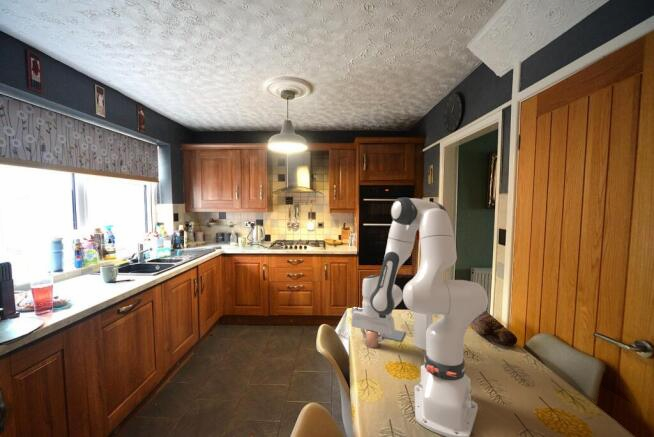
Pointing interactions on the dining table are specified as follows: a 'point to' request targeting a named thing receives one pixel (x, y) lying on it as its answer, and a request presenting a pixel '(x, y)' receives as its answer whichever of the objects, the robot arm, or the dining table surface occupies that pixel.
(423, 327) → the milk
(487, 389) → the dining table surface
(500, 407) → the dining table surface
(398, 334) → the coaster
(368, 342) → the pink rounded cylinder
